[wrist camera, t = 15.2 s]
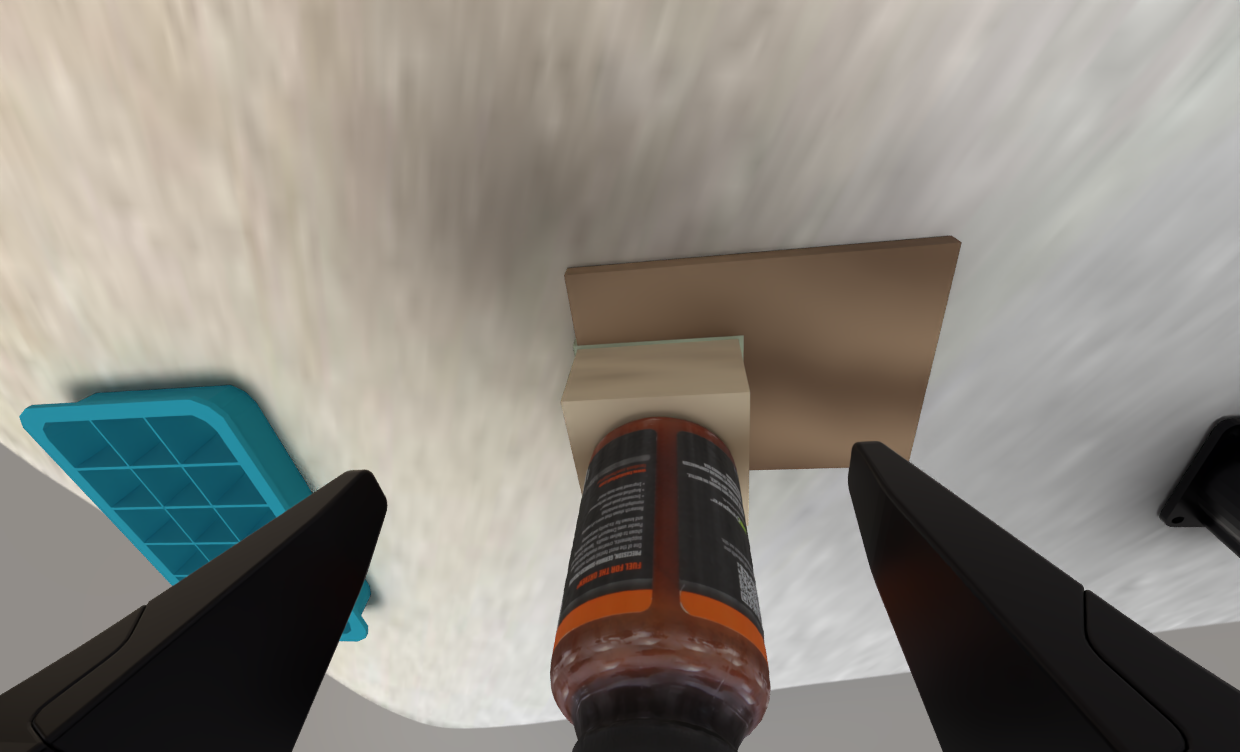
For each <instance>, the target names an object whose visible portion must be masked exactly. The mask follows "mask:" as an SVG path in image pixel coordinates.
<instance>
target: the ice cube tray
mask: <svg viewBox="0 0 1240 752" xmlns="http://www.w3.org/2000/svg"><path fill="white" fill-rule="evenodd" d="M19 417H20V420H21V423H22V426H23V428H24V429H25V430H26V431H27V432H28V433H29V434H30V435H31V436H32V438H33V439H34V440H35V441H36V442H37V443H38V444H39V445H40V446H41V447H42V448H43V449H44V450H45V451H46V452H47V453H48V454H49V456H50V457H51V458H52V459H53V460H54V461H55V462H56V463H57V464H58V465H59V466H60V467H61V468H62V469H63V470H64V471H65V473H66V474H67V475H68V476H69V477H70V478H71V479H72V480H73V481H74V482H75V483H76V484H77V485H78V486H79V487H80V488H81V489H82V491H83V492H84V493H85V494H86V495H87V496H88V497H89V498H90V499H91V500H92V501H93V502H94V503H95V504H96V505H97V506H98V507H99V509H100V510H101V511H102V512H103V513H104V514H105V515H106V516H107V517H108V518H109V519H110V520H111V521H112V522H113V523H114V524H115V525H116V527H117V528H118V529H119V530H120V531H121V532H122V533H123V534H124V535H125V536H126V537H127V538H128V539H129V540H130V541H131V542H132V544H134V546H135V547H136V548H137V549H138V550H139V551H140V552H141V553H142V554H143V555H144V556H145V557H146V558H147V559H148V560H149V561H150V563H151V564H152V565H153V566H154V567H155V568H156V569H157V570H158V571H159V572H160V573H161V574H162V575H163V576H164V577H165V579H167V580H168V582H169V583H170V584H171V585H172V586H173V585H175V584H176V583H178V582H179V581H181V580H182V579H184V578H185V577H187V576H188V575H190V574H192V573H193V572H195V571H196V570H198V569H199V568H201V567H202V566H204V565H205V564H207V563H208V562H210V561H211V560H213V559H214V558H216V557H217V556H219V555H220V554H222V553H223V552H225V551H226V550H228V549H229V548H231V547H232V546H234V545H235V544H237V543H238V542H240V541H242V540H243V539H245V538H246V537H248V536H249V535H251V534H252V533H254V532H255V531H257V530H258V529H260V528H261V527H263V526H264V525H266V524H267V523H269V522H270V521H272V520H273V519H275V518H276V517H278V516H279V515H281V514H282V513H284V512H285V511H287V510H288V509H290V508H292V507H293V506H295V505H296V504H298V503H299V502H301V501H302V500H304V499H305V498H307V497H308V496H310V495H311V494H312V492H311V490H310V489H309V487H308V486H307V484H306V482H305V481H304V479H303V477H302V476H301V474H300V473H299V471H298V469H297V468H296V466H295V464H294V463H293V461H292V460H291V458H290V456H289V455H288V453H287V451H286V450H285V448H284V447H283V445H282V443H281V442H280V440H279V438H278V437H277V435H276V434H275V432H274V430H273V429H272V427H271V425H270V424H269V422H268V421H267V419H266V417H265V416H264V414H263V412H262V411H261V409H260V408H259V406H258V404H257V403H256V402H255V401H254V400H253V399H252V398H251V397H250V396H249V395H248V394H247V393H246V392H245V391H243V390H241V389H239V388H236V387H234V386H232V385H221V386H204V387H188V388H171V389H154V390H137V391H121V392H104V393H95V394H93V395H91V396H89V397H87V398H85V399H83V400H81V401H79V402H76V403H58V404H41V405H31V406H29V407H27V408H25V410H24V411H23V412H22V414H21V415H20V416H19ZM370 595H371V592H370V586H369V585H368V583H367V581H366V580H365V581H364V583H363V586H362V588H361V591H360V593H359V596H358V598H357V601H356V603H355V605H354V608H353V610H352V612H351V615H350V617H349V619H348V622H347V624H346V626H345V629H344V631H343V633H342V636H341V638H340V640H339V641H360V640H362V639H364V638H366V636H367V634H368V625H367V624H366V622H365V621H364V619H363V618H362V616H361V615H362V612H363V610H364V608H365V606H366V604H367V602H368V599H369V597H370Z"/></svg>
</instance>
